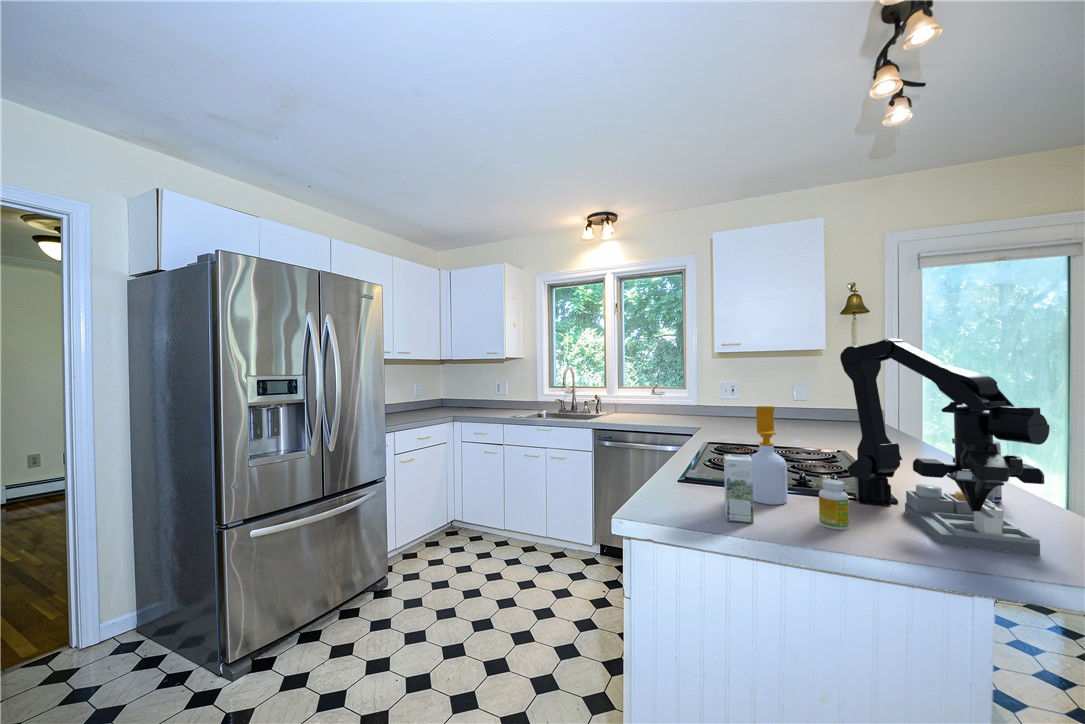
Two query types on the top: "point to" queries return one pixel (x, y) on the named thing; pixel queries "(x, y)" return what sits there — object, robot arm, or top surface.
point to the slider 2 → (987, 523)
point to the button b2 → (959, 496)
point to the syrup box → (738, 488)
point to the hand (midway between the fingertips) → (975, 512)
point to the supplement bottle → (833, 505)
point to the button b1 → (928, 491)
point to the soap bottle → (768, 463)
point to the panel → (965, 526)
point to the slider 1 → (993, 510)
